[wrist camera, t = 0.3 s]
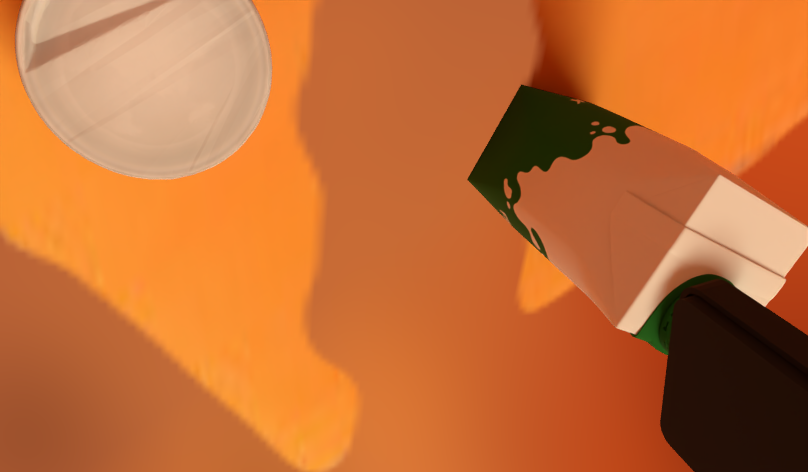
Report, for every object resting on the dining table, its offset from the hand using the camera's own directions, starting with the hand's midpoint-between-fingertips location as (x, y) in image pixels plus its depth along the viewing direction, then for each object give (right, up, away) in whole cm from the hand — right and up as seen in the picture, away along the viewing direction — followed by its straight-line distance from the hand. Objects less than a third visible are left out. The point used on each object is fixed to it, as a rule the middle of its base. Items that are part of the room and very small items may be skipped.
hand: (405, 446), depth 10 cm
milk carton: (+9, +9, +35) cm, 37 cm away
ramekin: (-13, +13, +25) cm, 31 cm away
